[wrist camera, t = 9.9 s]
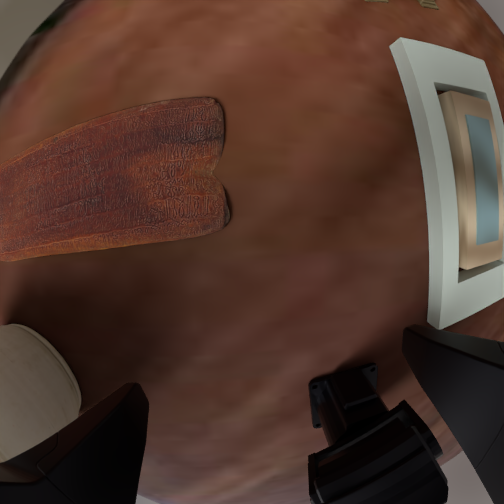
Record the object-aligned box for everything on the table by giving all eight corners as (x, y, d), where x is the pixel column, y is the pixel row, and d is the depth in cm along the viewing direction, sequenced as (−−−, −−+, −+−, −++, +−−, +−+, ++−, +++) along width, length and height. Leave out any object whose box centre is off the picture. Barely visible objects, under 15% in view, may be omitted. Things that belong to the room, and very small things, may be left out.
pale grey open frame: (498, 288, 22) (509, 293, 20) (426, 321, 22) (438, 330, 20) (472, 65, 17) (483, 60, 15) (389, 46, 16) (400, 37, 14)
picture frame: (482, 252, 21) (503, 259, 18) (446, 261, 21) (468, 270, 18) (469, 106, 18) (490, 101, 15) (430, 98, 18) (451, 89, 15)
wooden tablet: (221, 95, 18) (220, 87, 16) (234, 231, 20) (234, 234, 18) (-22, 172, 17) (-32, 172, 15) (-12, 265, 19) (-22, 269, 17)
